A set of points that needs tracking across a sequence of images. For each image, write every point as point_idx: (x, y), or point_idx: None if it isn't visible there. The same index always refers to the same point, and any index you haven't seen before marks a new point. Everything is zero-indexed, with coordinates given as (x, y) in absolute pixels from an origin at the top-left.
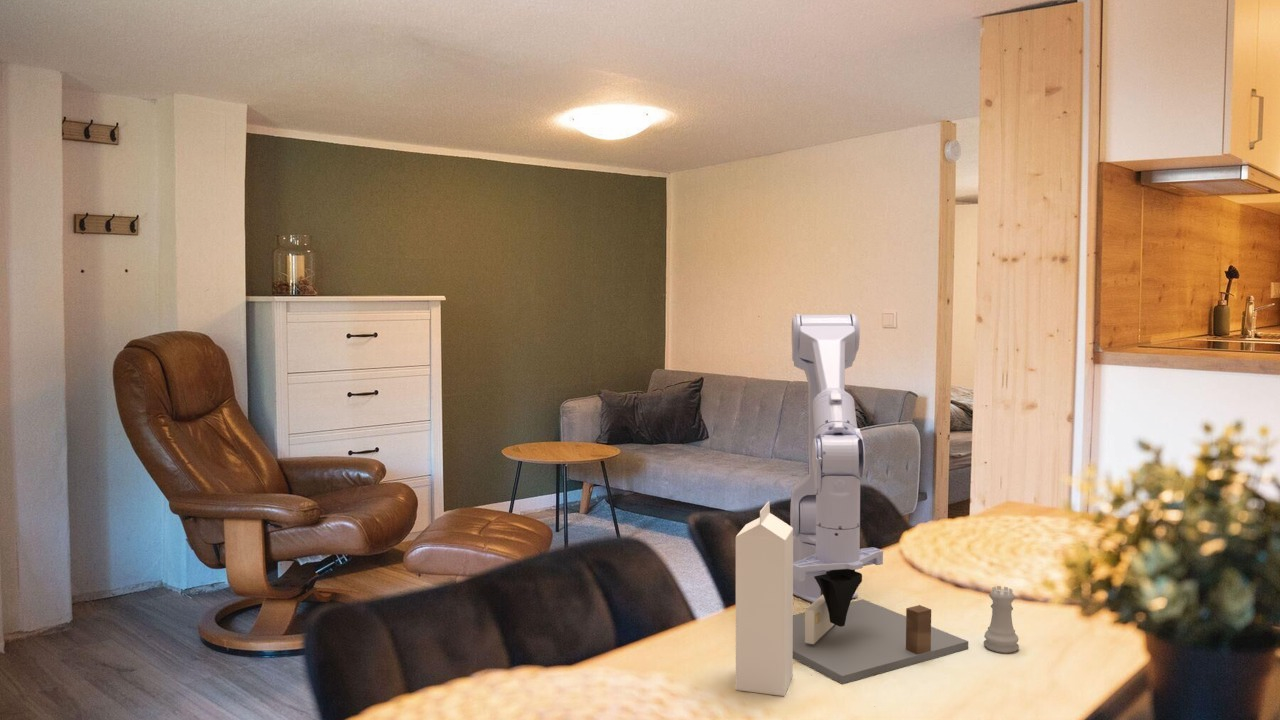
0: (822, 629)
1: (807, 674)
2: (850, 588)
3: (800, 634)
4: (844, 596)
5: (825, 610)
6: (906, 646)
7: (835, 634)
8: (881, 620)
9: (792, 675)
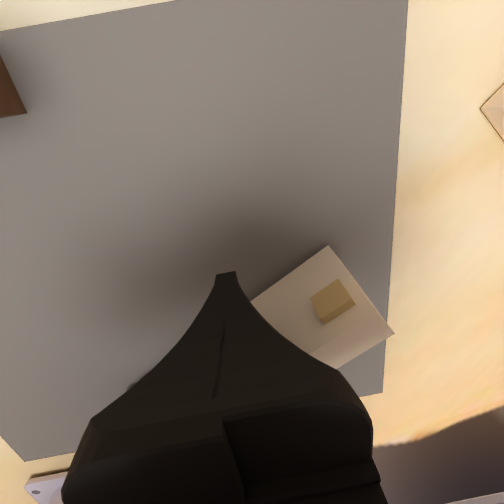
0: (268, 302)
1: (428, 109)
2: (205, 370)
3: None
4: (243, 336)
5: None
6: (17, 110)
7: None
8: (24, 350)
9: (487, 104)
